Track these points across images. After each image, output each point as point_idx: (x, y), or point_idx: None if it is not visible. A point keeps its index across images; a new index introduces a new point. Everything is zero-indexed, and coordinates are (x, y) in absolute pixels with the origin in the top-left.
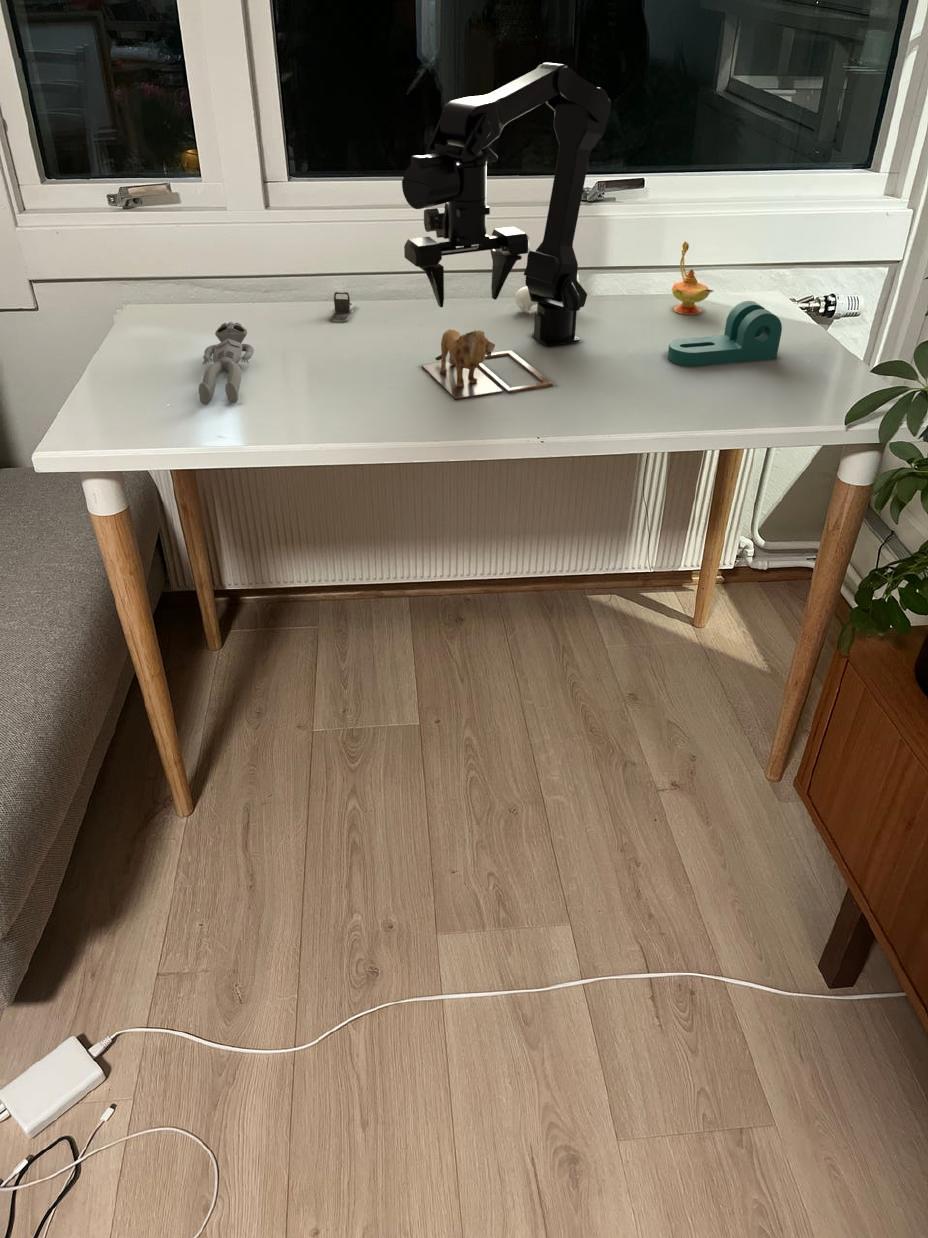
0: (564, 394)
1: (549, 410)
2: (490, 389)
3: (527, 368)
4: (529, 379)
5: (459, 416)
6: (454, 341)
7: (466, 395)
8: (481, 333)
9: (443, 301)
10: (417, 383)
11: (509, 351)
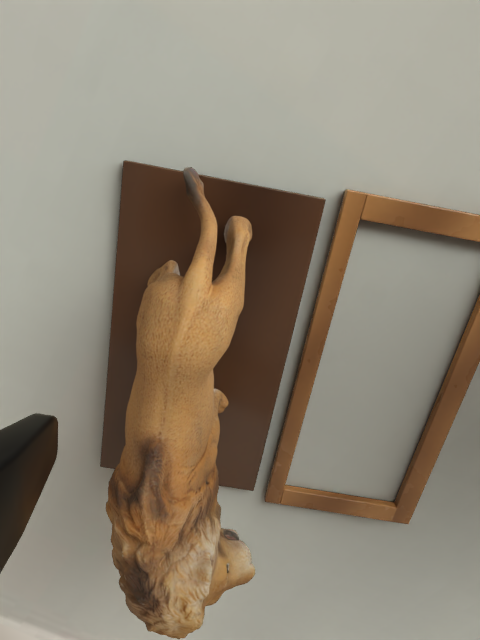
0: (387, 567)
1: (286, 608)
2: (227, 468)
3: (438, 405)
4: (386, 454)
5: (66, 537)
6: (139, 432)
7: None
8: (179, 631)
9: (31, 510)
10: (44, 297)
11: None
